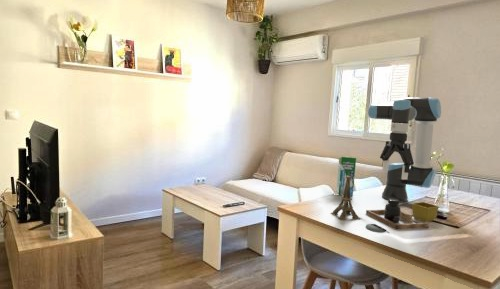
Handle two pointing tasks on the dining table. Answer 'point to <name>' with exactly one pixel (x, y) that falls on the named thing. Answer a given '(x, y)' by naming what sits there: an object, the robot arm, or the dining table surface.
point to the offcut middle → (405, 219)
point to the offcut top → (405, 214)
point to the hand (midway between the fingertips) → (394, 176)
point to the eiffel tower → (346, 203)
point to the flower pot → (424, 211)
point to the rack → (396, 226)
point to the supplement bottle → (392, 211)
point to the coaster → (375, 228)
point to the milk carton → (345, 174)
